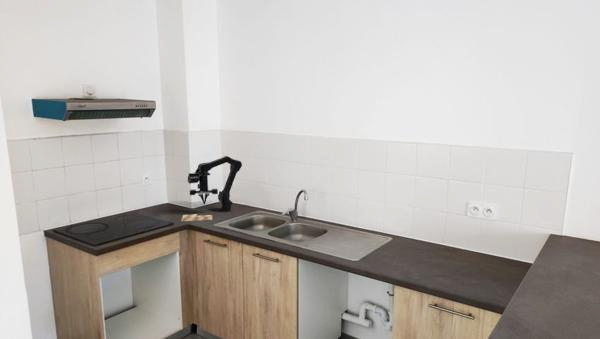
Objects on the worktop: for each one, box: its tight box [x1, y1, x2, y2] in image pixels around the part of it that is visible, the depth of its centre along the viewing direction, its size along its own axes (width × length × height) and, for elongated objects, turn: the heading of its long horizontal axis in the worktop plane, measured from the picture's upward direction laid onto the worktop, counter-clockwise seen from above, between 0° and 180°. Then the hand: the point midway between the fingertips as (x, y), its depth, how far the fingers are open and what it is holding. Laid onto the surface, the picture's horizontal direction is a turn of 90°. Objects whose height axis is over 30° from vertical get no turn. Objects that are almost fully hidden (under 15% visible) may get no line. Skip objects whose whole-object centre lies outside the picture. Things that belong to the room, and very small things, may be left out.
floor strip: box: [180, 215, 213, 222], centre depth 278 cm, size 20×8×1 cm, turn 102°
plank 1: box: [181, 213, 198, 219], centre depth 284 cm, size 10×7×1 cm
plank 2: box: [197, 214, 213, 217], centre depth 287 cm, size 10×7×1 cm
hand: (204, 204), depth 287 cm, fingers closed
